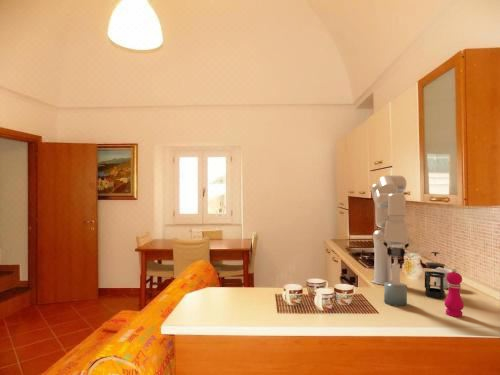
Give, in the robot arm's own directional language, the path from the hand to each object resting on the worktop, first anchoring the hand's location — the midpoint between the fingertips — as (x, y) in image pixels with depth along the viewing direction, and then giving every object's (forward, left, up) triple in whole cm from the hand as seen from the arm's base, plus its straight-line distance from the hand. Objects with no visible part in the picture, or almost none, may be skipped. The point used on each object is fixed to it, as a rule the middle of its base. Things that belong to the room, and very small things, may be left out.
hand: (395, 256), depth 166 cm
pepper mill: (+14, +20, -23) cm, 33 cm away
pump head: (-1, +1, -8) cm, 9 cm away
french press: (-16, +26, -23) cm, 38 cm away
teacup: (-37, +41, -23) cm, 60 cm away
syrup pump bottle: (0, 0, -22) cm, 22 cm away
